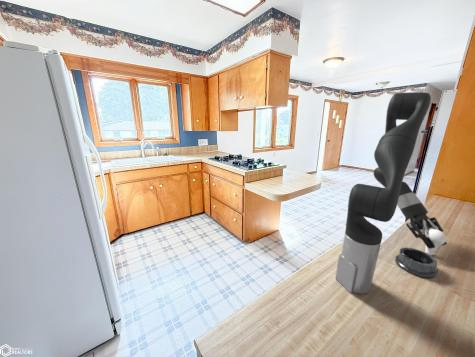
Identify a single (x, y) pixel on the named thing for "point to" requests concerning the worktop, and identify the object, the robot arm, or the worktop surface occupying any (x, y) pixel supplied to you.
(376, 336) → the worktop surface
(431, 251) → the lightbulb
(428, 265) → the socket holder
